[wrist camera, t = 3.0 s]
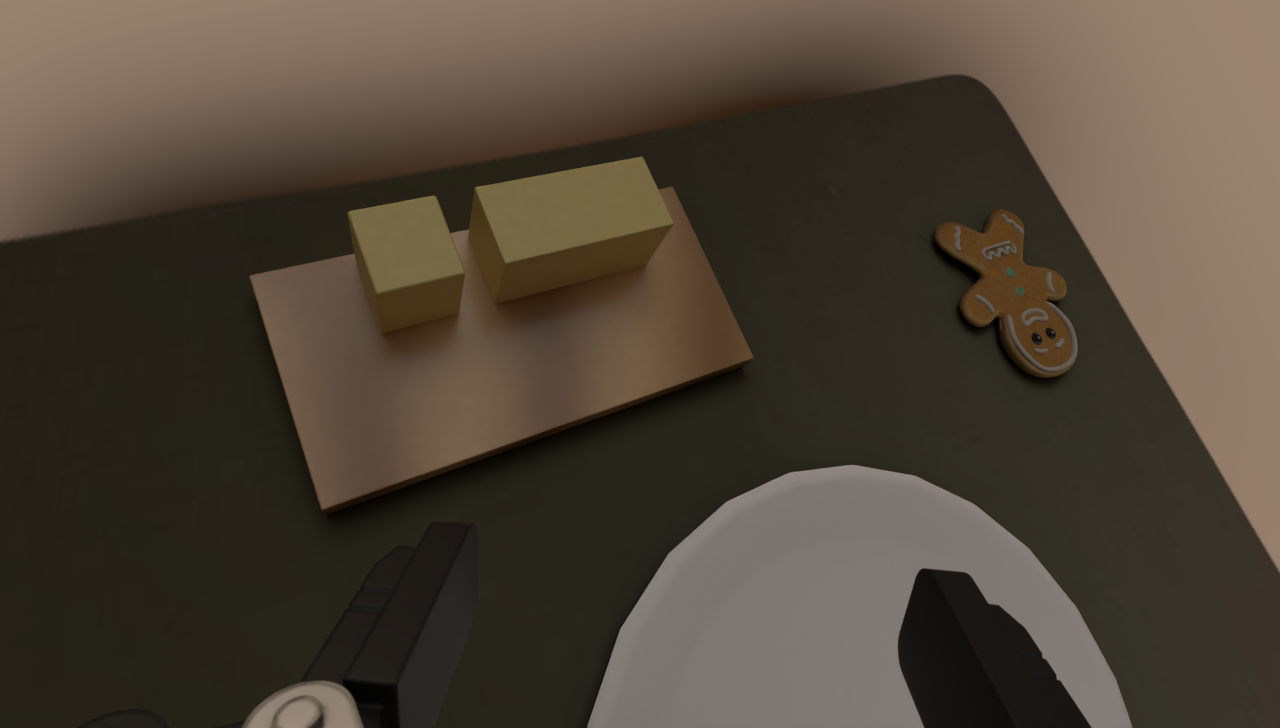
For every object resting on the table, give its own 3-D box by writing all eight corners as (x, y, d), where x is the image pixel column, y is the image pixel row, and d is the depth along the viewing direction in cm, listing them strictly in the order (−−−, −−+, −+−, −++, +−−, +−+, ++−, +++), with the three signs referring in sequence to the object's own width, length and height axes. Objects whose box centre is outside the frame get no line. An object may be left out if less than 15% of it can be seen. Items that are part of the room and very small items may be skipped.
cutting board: (325, 515, 23) (321, 510, 22) (255, 289, 25) (248, 275, 24) (742, 366, 30) (754, 358, 29) (664, 200, 32) (673, 186, 31)
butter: (494, 305, 26) (505, 263, 23) (467, 236, 27) (474, 186, 24) (647, 265, 29) (674, 223, 26) (619, 203, 30) (642, 155, 27)
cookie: (1026, 198, 39) (1115, 352, 37) (1013, 207, 40) (1100, 358, 38) (926, 223, 36) (1017, 393, 33) (914, 232, 37) (1002, 398, 34)
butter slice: (381, 334, 25) (375, 294, 21) (355, 260, 25) (346, 210, 22) (460, 314, 26) (466, 273, 23) (433, 243, 26) (435, 194, 23)
